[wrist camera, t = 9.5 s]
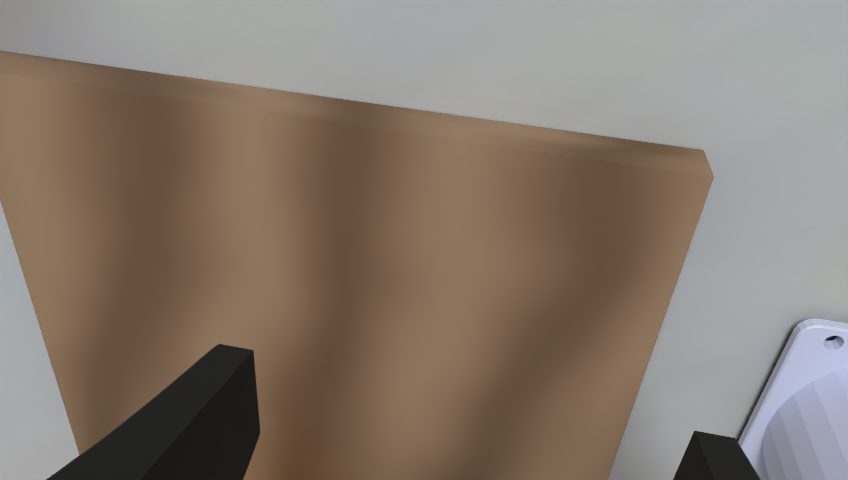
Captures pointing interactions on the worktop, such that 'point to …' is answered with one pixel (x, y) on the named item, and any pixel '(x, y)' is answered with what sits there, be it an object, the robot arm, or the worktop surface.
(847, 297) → the worktop surface
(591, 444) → the walnut board
